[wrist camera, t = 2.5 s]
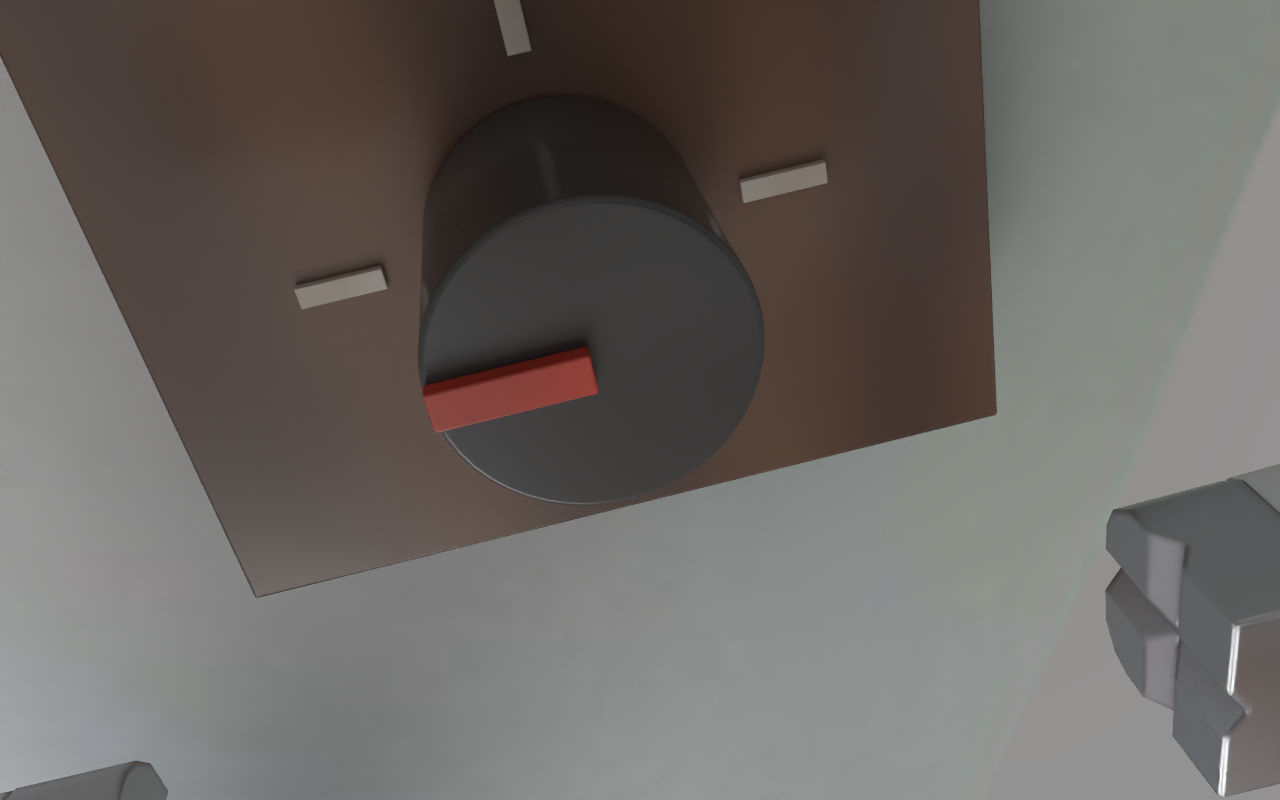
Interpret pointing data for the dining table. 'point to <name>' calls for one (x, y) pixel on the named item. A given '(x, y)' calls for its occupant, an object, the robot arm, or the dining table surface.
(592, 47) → the panel
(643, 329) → the dial
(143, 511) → the dining table surface
